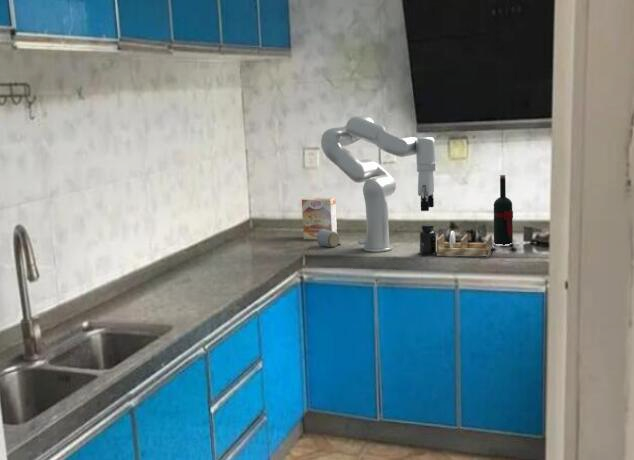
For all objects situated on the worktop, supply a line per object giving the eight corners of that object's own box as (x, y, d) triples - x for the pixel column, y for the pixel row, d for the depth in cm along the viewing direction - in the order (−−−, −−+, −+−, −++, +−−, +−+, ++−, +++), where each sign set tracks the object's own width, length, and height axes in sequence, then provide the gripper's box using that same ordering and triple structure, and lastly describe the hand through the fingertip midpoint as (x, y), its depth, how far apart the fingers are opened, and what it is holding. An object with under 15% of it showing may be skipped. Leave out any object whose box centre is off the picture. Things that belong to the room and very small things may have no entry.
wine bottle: (502, 248, 300) (502, 177, 295) (490, 244, 310) (489, 175, 305) (519, 246, 302) (518, 175, 297) (506, 242, 312) (506, 173, 307)
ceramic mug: (329, 249, 318) (328, 232, 317) (316, 247, 324) (316, 230, 323) (345, 245, 325) (345, 228, 324) (333, 243, 331) (332, 227, 330)
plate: (449, 253, 293) (449, 232, 291) (453, 249, 301) (453, 228, 299) (451, 253, 292) (451, 232, 291) (455, 249, 300) (455, 228, 299)
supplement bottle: (417, 254, 298) (416, 226, 296) (423, 250, 304) (422, 223, 302) (433, 255, 295) (432, 226, 293) (438, 251, 301) (437, 223, 299)
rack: (437, 255, 293) (436, 239, 292) (442, 249, 304) (442, 234, 303) (487, 257, 286) (487, 240, 285) (491, 250, 297) (491, 234, 295)
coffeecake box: (303, 239, 344) (300, 199, 340) (309, 236, 350) (306, 197, 347) (332, 240, 338) (330, 199, 335) (337, 237, 345) (335, 197, 341)
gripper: (421, 165, 302) (423, 205, 305) (412, 170, 287) (413, 212, 290) (439, 165, 300) (440, 205, 303) (430, 169, 284) (432, 212, 287)
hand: (427, 208), depth 296 cm, fingers open, 9 cm apart
